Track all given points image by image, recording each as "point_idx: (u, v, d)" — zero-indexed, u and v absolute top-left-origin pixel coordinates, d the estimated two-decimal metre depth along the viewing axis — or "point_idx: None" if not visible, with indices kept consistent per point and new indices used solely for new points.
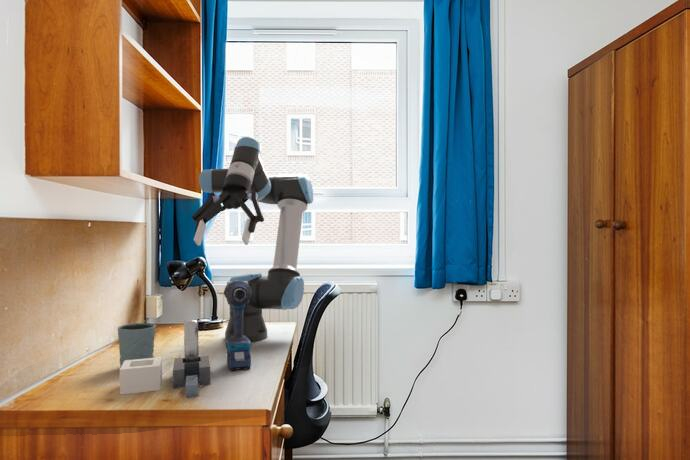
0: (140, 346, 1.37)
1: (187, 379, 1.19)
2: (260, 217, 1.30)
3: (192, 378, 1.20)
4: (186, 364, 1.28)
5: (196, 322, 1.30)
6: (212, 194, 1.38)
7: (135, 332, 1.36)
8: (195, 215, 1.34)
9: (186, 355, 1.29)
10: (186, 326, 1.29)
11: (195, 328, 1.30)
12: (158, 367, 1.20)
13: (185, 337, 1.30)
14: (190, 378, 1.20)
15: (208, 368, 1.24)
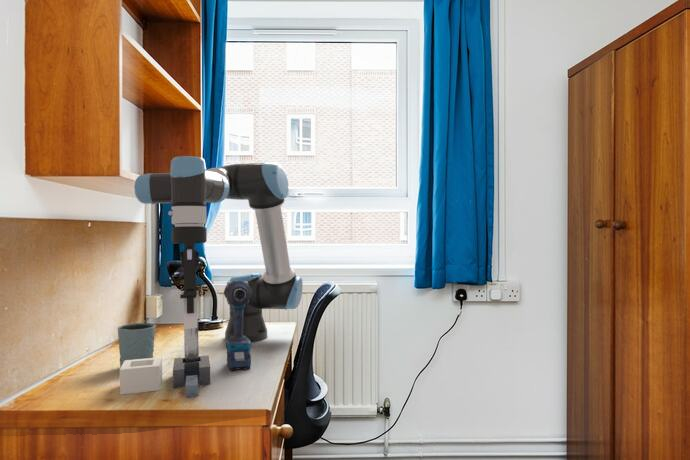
0: (140, 346, 1.37)
1: (187, 379, 1.19)
2: (186, 295, 1.01)
3: (192, 378, 1.20)
4: (186, 364, 1.28)
5: None
6: None
7: (135, 332, 1.36)
8: None
9: (186, 355, 1.29)
10: None
11: (195, 328, 1.30)
12: (158, 367, 1.20)
13: (185, 337, 1.30)
14: (190, 378, 1.20)
15: (208, 368, 1.24)
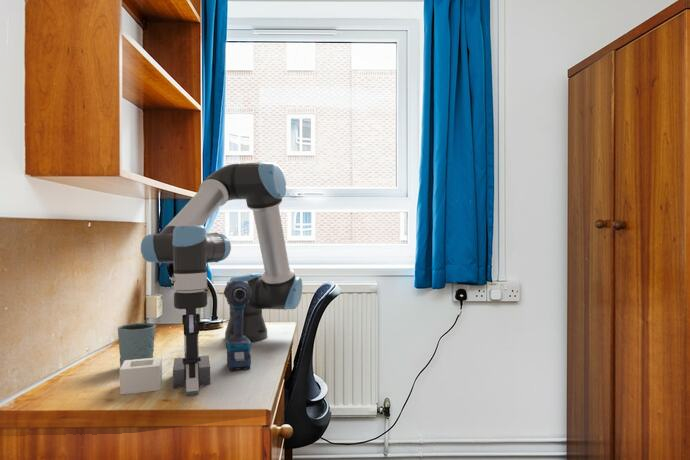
0: (140, 346, 1.37)
1: None
2: (188, 363, 1.12)
3: None
4: None
5: None
6: None
7: (135, 332, 1.36)
8: None
9: None
10: None
11: None
12: (158, 367, 1.20)
13: (185, 337, 1.30)
14: None
15: (208, 368, 1.24)
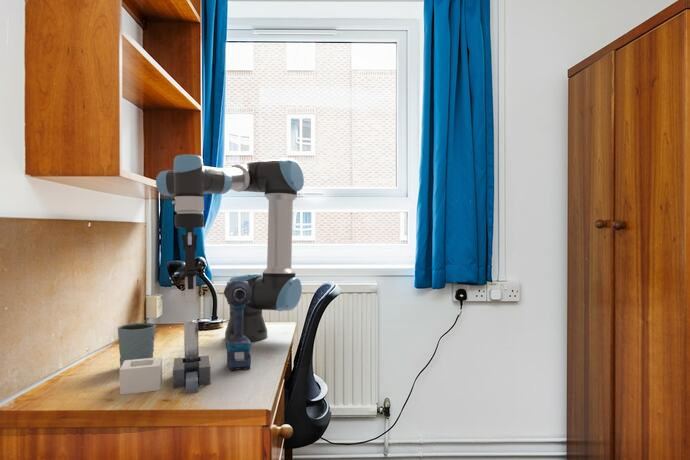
0: (140, 346, 1.37)
1: (187, 375, 1.22)
2: (187, 274, 1.26)
3: (192, 374, 1.23)
4: (186, 364, 1.28)
5: (196, 322, 1.30)
6: None
7: (135, 332, 1.36)
8: None
9: (186, 355, 1.29)
10: (186, 326, 1.29)
11: (195, 328, 1.30)
12: (158, 367, 1.20)
13: (185, 337, 1.30)
14: (190, 374, 1.23)
15: (208, 368, 1.24)
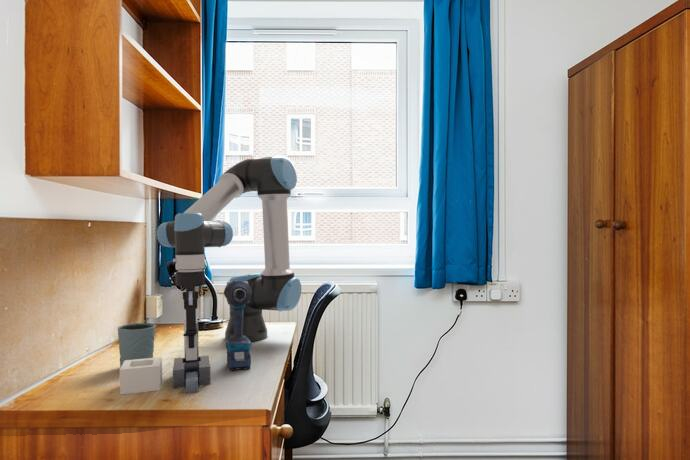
0: (140, 346, 1.37)
1: (187, 375, 1.22)
2: (188, 334, 1.26)
3: (192, 374, 1.23)
4: (186, 364, 1.28)
5: (196, 322, 1.30)
6: None
7: (135, 332, 1.36)
8: None
9: None
10: None
11: None
12: (158, 367, 1.20)
13: (185, 337, 1.30)
14: (190, 374, 1.23)
15: (208, 368, 1.24)
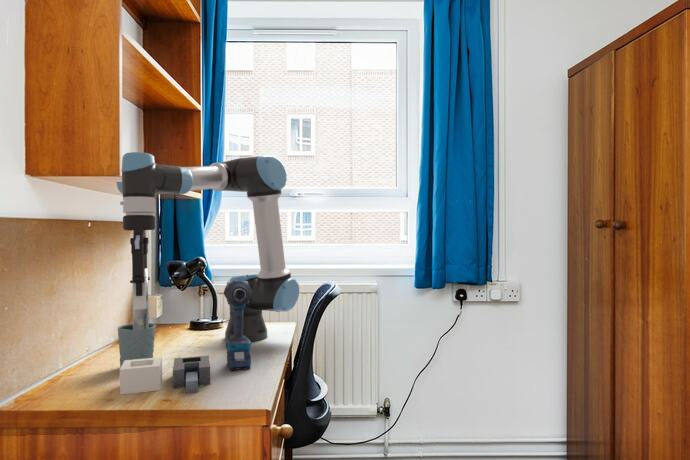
0: (140, 346, 1.37)
1: (187, 375, 1.22)
2: (135, 280, 1.18)
3: (192, 374, 1.23)
4: (186, 364, 1.28)
5: (145, 270, 1.22)
6: None
7: (135, 332, 1.36)
8: None
9: None
10: None
11: (144, 276, 1.22)
12: (158, 367, 1.20)
13: None
14: (190, 374, 1.23)
15: (208, 368, 1.24)
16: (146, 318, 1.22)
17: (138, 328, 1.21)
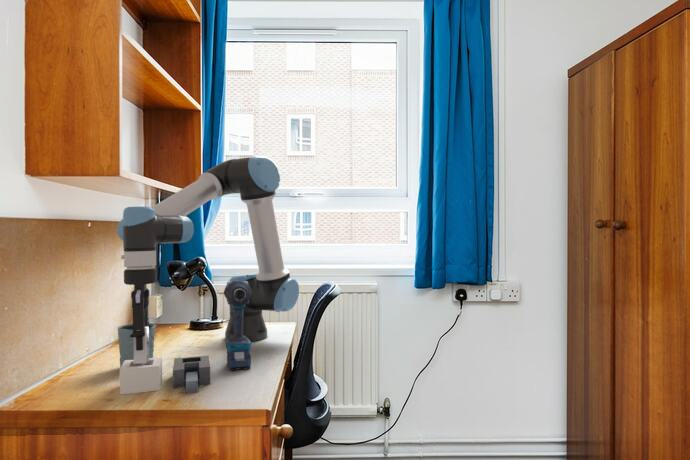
0: None
1: (187, 375, 1.22)
2: (135, 335, 1.16)
3: (192, 374, 1.23)
4: (186, 364, 1.28)
5: (146, 329, 1.22)
6: None
7: None
8: None
9: (135, 364, 1.21)
10: None
11: (145, 335, 1.22)
12: (158, 367, 1.20)
13: None
14: (190, 374, 1.23)
15: (208, 368, 1.24)
16: None
17: None
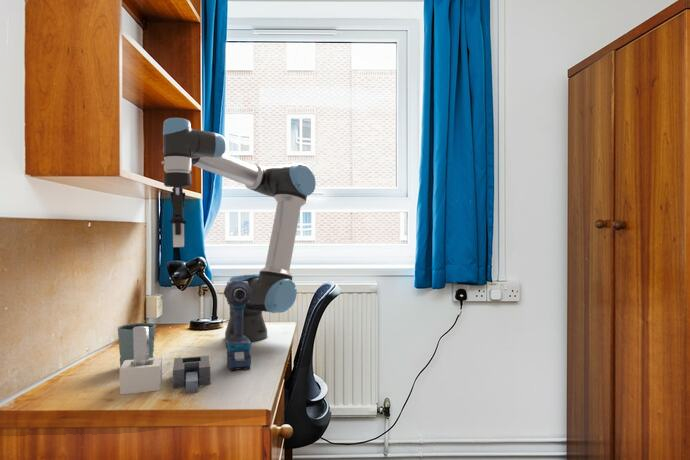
0: None
1: (187, 375, 1.22)
2: (175, 220, 1.31)
3: (192, 374, 1.23)
4: (186, 364, 1.28)
5: (146, 329, 1.22)
6: None
7: None
8: None
9: (135, 364, 1.21)
10: (135, 333, 1.21)
11: (145, 335, 1.22)
12: (158, 367, 1.20)
13: (134, 345, 1.22)
14: (190, 374, 1.23)
15: (208, 368, 1.24)
16: None
17: None
